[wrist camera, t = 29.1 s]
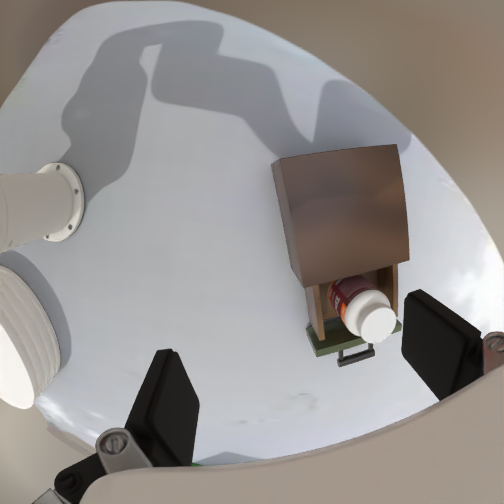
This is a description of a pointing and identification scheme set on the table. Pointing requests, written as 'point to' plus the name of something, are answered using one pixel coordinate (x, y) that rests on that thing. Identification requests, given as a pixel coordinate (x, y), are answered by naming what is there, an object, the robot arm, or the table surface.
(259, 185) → the table surface
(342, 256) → the cabinet
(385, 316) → the pill bottle
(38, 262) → the table surface
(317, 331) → the drawer
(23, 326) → the plate stack
